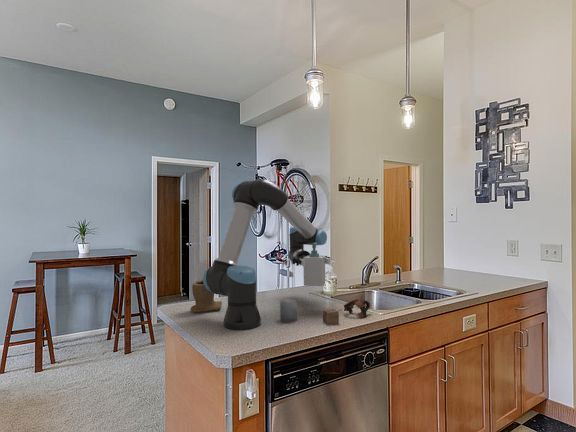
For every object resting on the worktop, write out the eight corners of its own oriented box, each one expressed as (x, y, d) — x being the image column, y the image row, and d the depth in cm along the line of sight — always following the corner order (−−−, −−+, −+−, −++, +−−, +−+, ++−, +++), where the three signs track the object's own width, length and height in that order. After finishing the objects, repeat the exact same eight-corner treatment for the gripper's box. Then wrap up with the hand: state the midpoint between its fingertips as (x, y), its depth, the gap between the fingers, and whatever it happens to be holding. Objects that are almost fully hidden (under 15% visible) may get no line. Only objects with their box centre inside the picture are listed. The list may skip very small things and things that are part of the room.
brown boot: (191, 315, 161) (191, 282, 161) (189, 309, 172) (189, 278, 172) (225, 312, 166) (225, 280, 166) (221, 306, 177) (220, 276, 178)
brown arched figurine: (356, 321, 150) (346, 303, 153) (346, 325, 158) (338, 308, 161) (377, 310, 155) (368, 292, 158) (367, 315, 163) (359, 298, 166)
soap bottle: (325, 282, 169) (324, 242, 169) (322, 286, 160) (321, 243, 160) (307, 282, 171) (307, 242, 171) (303, 285, 162) (302, 243, 163)
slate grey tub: (287, 323, 147) (287, 303, 147) (276, 319, 153) (276, 301, 153) (300, 319, 152) (299, 301, 152) (289, 316, 157) (289, 298, 157)
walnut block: (322, 321, 149) (322, 309, 149) (334, 320, 150) (333, 308, 150) (327, 324, 144) (327, 312, 144) (338, 323, 146) (338, 311, 146)
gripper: (324, 263, 186) (341, 269, 165) (279, 266, 180) (291, 272, 159) (324, 249, 186) (341, 252, 165) (279, 251, 180) (291, 255, 159)
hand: (317, 262), depth 162 cm, fingers closed on soap bottle, 12 cm apart
